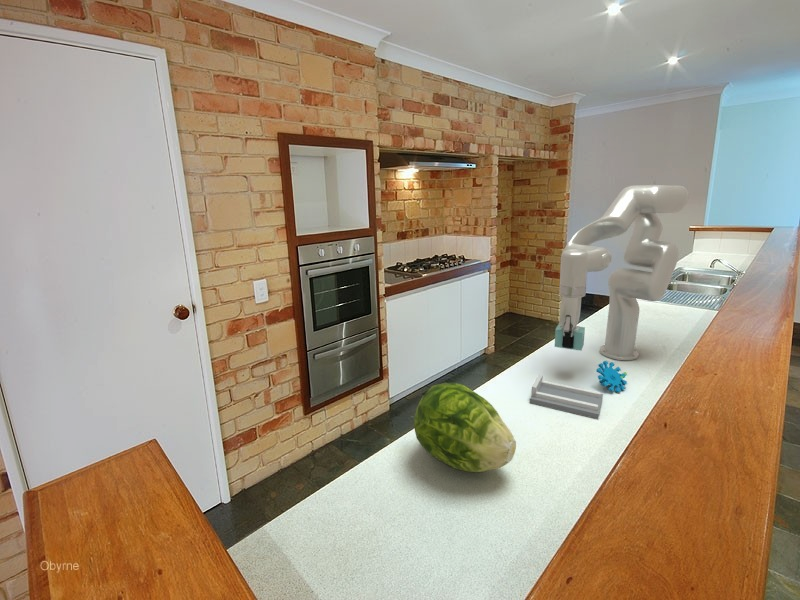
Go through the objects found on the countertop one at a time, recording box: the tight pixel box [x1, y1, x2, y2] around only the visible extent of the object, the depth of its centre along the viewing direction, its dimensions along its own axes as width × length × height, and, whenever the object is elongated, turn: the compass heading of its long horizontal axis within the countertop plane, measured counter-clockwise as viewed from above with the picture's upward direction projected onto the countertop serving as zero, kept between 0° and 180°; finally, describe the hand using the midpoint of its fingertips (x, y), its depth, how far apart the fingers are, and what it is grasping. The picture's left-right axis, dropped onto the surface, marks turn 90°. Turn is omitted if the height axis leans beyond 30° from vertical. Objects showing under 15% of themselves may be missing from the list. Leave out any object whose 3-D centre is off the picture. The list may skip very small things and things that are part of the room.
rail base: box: [529, 374, 604, 420], centre depth 116 cm, size 12×18×4 cm, turn 59°
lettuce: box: [413, 382, 517, 473], centre depth 90 cm, size 18×23×19 cm
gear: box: [596, 360, 628, 393], centre depth 124 cm, size 11×6×10 cm
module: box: [554, 323, 586, 352], centre depth 128 cm, size 5×8×6 cm, turn 59°
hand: (569, 343), depth 128 cm, fingers closed on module, 5 cm apart
